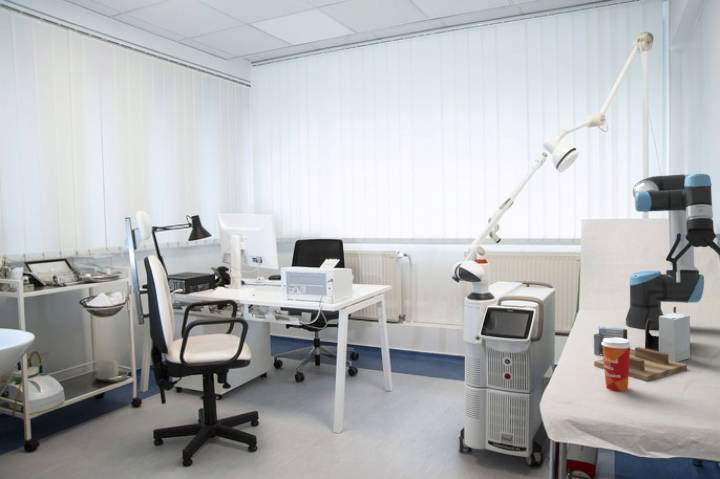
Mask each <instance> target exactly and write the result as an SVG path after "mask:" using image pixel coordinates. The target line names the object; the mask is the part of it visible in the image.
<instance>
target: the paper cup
mask: <svg viewBox="0 0 720 479" xmlns="http://www.w3.org/2000/svg"><path fill="white" fill-rule="evenodd" d="M601 344H602V345H603V354H602V356H603V359H604V379H605V387H606V389H608V390H610V391H613V392H627V391H628V388H629V378H630V376H629V358H630V351H631V347H632V344H631V342H630V340H629V339H628V338H627V339H623V338H616V337H613V338H604V339H603V342H602V343H601Z"/></svg>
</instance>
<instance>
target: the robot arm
mask: <svg viewBox="0 0 720 479" xmlns="http://www.w3.org/2000/svg"><path fill="white" fill-rule="evenodd" d="M632 195H633V198H634V209H635V211H636V212H641V213H642V212H643V213H647V212H666V211H667V212H668V233H669V234H668V235H669V236H668V238H669V240H668V241H669V242H668V243H669V252H668V255H666V257H665V258H666V259H665V260H666V261H667V262H669V267H668V268H666V270H665V272H666V274H665V273H663V274H662V272H661V271H660V270H642V271H636V272H633V273H631V275H630V276H629V284H628V285H629V308H628V311H627V315H626V317H625V326H628V327H630V328H631V327H632V328H635V329H641V330H642V329H644V330H645V329H646V323H647V320H648V319H650V324H649V330H659V316H660V315H661V313H662V314H663V315H664V312H663V310H662V303H663V302H664V303H682V304H683V303H685V304H688V303H690V304H691V303H699V302H700V301H701V299H702V298H703V294H704V289H705V288H704V287H705V276H704V274H701V273H700V270H699V268H697V267H696V266H695V249H694V247H695V248H707V247H710V249H712V250H714V252H715V253H716V254H718V255H719V256H720V246H719V245H718V244H717V243H716V242H715V241H714V240H715V239H718V241H720V233H715V230H714V229H715V228H714V220H713V218H714V214H713V213H714V212H713V201H712V200H713V198H712V181H711V176H710V175H709V174H706V173H694V174H684V173H681V174H670V175H669V174H668V175H659V176H658V175H655V176H650V177H646V178H644V179H641V180H639V181H638V182H637V183H636V184H635V185H634V186H633V188H632Z"/></svg>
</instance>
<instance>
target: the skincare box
mask: <svg viewBox="0 0 720 479" xmlns="http://www.w3.org/2000/svg"><path fill="white" fill-rule="evenodd" d="M658 336H659V352H662V353H667V354H668V360H670V361H674V362H678V363H679V362H681V361H684V360H688V359H690V358H691V357H690V356H691V316H690V315H687V314H682V313H677V312H676V313H673V312H671V313H667V314H665V315H664V314H663V316H659V329H658Z"/></svg>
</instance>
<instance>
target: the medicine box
mask: <svg viewBox="0 0 720 479" xmlns="http://www.w3.org/2000/svg"><path fill="white" fill-rule="evenodd" d="M623 329H624V328H623V326H611V325H610V326H609V325H607V326H606V325H599V326H598V334H603V336H604V338H613V337H616V338H623Z"/></svg>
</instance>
